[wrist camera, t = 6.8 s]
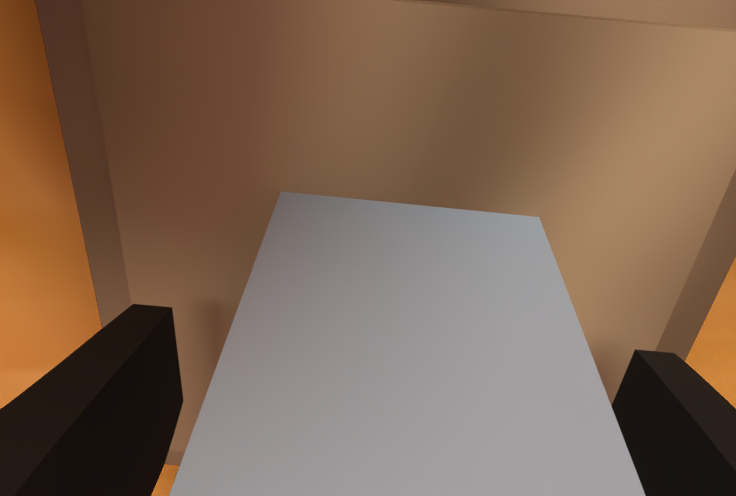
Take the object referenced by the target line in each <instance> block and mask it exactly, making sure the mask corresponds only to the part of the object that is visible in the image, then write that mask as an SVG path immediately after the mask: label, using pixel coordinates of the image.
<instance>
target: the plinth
mask: <svg viewBox="0 0 736 496" xmlns="http://www.w3.org/2000/svg"><path fill="white" fill-rule="evenodd" d="M35 2H36V7H37V12H38V17H39V22H40V27H41V31H42V36H43V41H44V46H45V51H46V56H47V61H48V66H49V70H50V75H51V80H52V85H53V90H54V95H55V100H56V105H57V110H58V114H59V119H60V124H61V129H62V134H63V139H64V144H65V149H66V153H67V158H68V163H69V168H70V173H71V178H72V183H73V188H74V192H75V197H76V202H77V207H78V212H79V217H80V222H81V227H82V231H83V236H84V241H85V246H86V251H87V256H88V261H89V266H90V270H91V275H92V280H93V285H94V290H95V295H96V300H97V305H98V310H99V314H100V319H101V324H102V328H104V327H105V326H106V325H107V324H108V323H110V322H111V321H112V320H113V319H115V318H116V317H117V316H118V315H120V314H121V313H122V312H123V311H125V310H126V309H127V308H128V307H130V306H131V305H132V304H142V305H153V306H164V307H172V310H173V318H174V326H175V335H176V343H177V351H178V359H179V368H180V376H181V384H182V392H183V400H184V401H183V404H182V408H181V411H180V415H179V418H178V422H177V425H176V429H175V432H174V436H173V439H172V442H171V445H170V449H169V452H168V455H167V458H166V461H165V464H169V465H180V464H181V462H182V459H183V456H184V453H185V451H186V448H187V445H188V443H189V440H190V437H191V434H192V432H193V429H194V426H195V424H196V421H197V418H198V415H199V413H200V410H201V407H202V404H203V402H204V399H205V396H206V394H207V391H208V388H209V385H210V383H211V380H212V377H213V374H214V372H215V369H216V366H217V364H218V361H219V358H220V355H221V353H222V350H223V347H224V345H225V342H226V339H227V336H228V334H229V331H230V328H231V325H232V323H233V320H234V317H235V315H236V312H237V309H238V306H239V304H240V301H241V298H242V295H243V293H244V290H245V287H246V285H247V282H248V279H249V276H250V274H251V271H252V268H253V266H254V263H255V260H256V257H257V255H258V252H259V249H260V246H261V244H262V241H263V238H264V236H265V233H266V230H267V227H268V225H269V222H270V219H271V216H272V214H273V211H274V208H275V206H276V203H277V200H278V197H279V195H280V192H281V191H282V192H292V193H302V194H312V195H322V196H332V197H342V198H352V199H362V200H372V201H382V202H392V203H403V204H413V205H423V206H433V207H443V208H453V209H463V210H473V211H483V212H493V213H503V214H513V215H523V216H533V217H539V218H540V221H541V223H542V226H543V229H544V231H545V234H546V236H547V239H548V242H549V244H550V247H551V250H552V252H553V255H554V257H555V260H556V263H557V265H558V268H559V270H560V273H561V276H562V278H563V281H564V284H565V286H566V289H567V291H568V294H569V297H570V299H571V302H572V304H573V307H574V310H575V312H576V315H577V318H578V320H579V323H580V325H581V328H582V331H583V333H584V336H585V338H586V341H587V344H588V346H589V349H590V352H591V354H592V357H593V359H594V362H595V365H596V367H597V370H598V373H599V375H600V378H601V380H602V383H603V386H604V388H605V391H606V393H607V396H608V399H609V401H610V404H611V406H612V403H613V401H614V398H615V396H616V394H617V391H618V389H619V386H620V384H621V382H622V379H623V377H624V375H625V372H626V370H627V367H628V365H629V363H630V360H631V358H632V355H633V353H634V351H635V349H636V350H647V351H658V352H669V353H675V354H676V355H677V356H678V357H680V358H681V359H682V360H683V361H684V362H685V360H686V358H687V356H688V354H689V351H690V349H691V347H692V345H693V343H694V341H695V339H696V337H697V335H698V333H699V331H700V329H701V327H702V325H703V322H704V320H705V318H706V316H707V314H708V312H709V310H710V308H711V306H712V304H713V302H714V300H715V298H716V296H717V294H718V291H719V289H720V287H721V285H722V283H723V281H724V279H725V277H726V275H727V273H728V271H729V269H730V267H731V265H732V263H733V260H734V258H735V256H736V0H35Z"/></svg>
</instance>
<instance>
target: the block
mask: <svg viewBox="0 0 736 496" xmlns="http://www.w3.org/2000/svg"><path fill="white" fill-rule="evenodd" d="M169 496H646V495H645V493H644V490H643V488H642V485H641V482H640V480H639V477H638V475H637V472H636V469H635V467H634V464H633V461H632V459H631V456H630V454H629V451H628V448H627V446H626V443H625V441H624V438H623V435H622V433H621V430H620V427H619V425H618V422H617V420H616V417H615V414H614V412H613V409H612V407H611V404H610V401H609V399H608V396H607V393H606V391H605V388H604V386H603V383H602V380H601V378H600V375H599V373H598V370H597V367H596V365H595V362H594V359H593V357H592V354H591V352H590V349H589V346H588V344H587V341H586V338H585V336H584V333H583V331H582V328H581V325H580V323H579V320H578V318H577V315H576V312H575V310H574V307H573V304H572V302H571V299H570V297H569V294H568V291H567V289H566V286H565V284H564V281H563V278H562V276H561V273H560V270H559V268H558V265H557V263H556V260H555V257H554V255H553V252H552V250H551V247H550V244H549V242H548V239H547V236H546V234H545V231H544V229H543V226H542V223H541V221H540V218H539V217H533V216H523V215H513V214H503V213H493V212H483V211H473V210H463V209H453V208H443V207H433V206H423V205H413V204H403V203H392V202H382V201H372V200H362V199H352V198H342V197H332V196H322V195H312V194H302V193H292V192H282V191H281V192H280V195H279V197H278V200H277V203H276V206H275V208H274V211H273V214H272V216H271V219H270V222H269V225H268V227H267V230H266V233H265V236H264V238H263V241H262V244H261V246H260V249H259V252H258V255H257V257H256V260H255V263H254V266H253V268H252V271H251V274H250V276H249V279H248V282H247V285H246V287H245V290H244V293H243V295H242V298H241V301H240V304H239V306H238V309H237V312H236V315H235V317H234V320H233V323H232V325H231V328H230V331H229V334H228V336H227V339H226V342H225V345H224V347H223V350H222V353H221V355H220V358H219V361H218V364H217V366H216V369H215V372H214V374H213V377H212V380H211V383H210V385H209V388H208V391H207V394H206V396H205V399H204V402H203V404H202V407H201V410H200V413H199V415H198V418H197V421H196V424H195V426H194V429H193V432H192V434H191V437H190V440H189V443H188V445H187V448H186V451H185V453H184V456H183V459H182V462H181V464H180V467H179V470H178V473H177V475H176V478H175V481H174V483H173V486H172V489H171V492H170V494H169Z"/></svg>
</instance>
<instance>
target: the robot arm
mask: <svg viewBox="0 0 736 496" xmlns="http://www.w3.org/2000/svg"><path fill="white" fill-rule="evenodd" d="M183 401H184V400H183V392H182V384H181V376H180V368H179V359H178V351H177V343H176V335H175V326H174V318H173V310H172V307H164V306H153V305H142V304H132V305H131V306H130V307H128V308H127V309H126V310H125V311H123V312H122V313H121V314H120V315H118V316H117V317H116V318H115V319H113V320H112V321H111V322H110V323H108V324H107V325H106V326H105V327H104V328H102V329H101V330H100V331H99V332H97V333H96V334H95V335H94V336H93V337H91V338H90V339H89V340H88V341H86V342H85V343H84V344H83V345H82V346H80V347H79V348H78V349H77V350H75V351H74V352H73V353H72V354H71V355H69V356H68V357H67V358H66V359H64V360H63V361H62V362H61V363H59V364H58V365H57V366H56V367H54V368H53V369H52V370H51V371H49V372H48V373H47V374H46V375H44V376H43V377H42V378H40V379H39V380H38V381H37V382H35V383H34V384H33V385H32V386H30V387H29V388H28V389H26V390H25V391H24V392H23V393H21V394H20V395H19V396H18V397H16V398H15V399H14V400H12V401H11V402H10V403H8V404H7V405H6V406H4V407H3V408H1V409H0V496H151V494H152V492H153V490H154V487H155V485H156V483H157V480H158V478H159V476H160V473H161V471H162V468H163V466H164V464H165V461H166V458H167V455H168V452H169V449H170V445H171V442H172V439H173V436H174V432H175V429H176V425H177V422H178V418H179V415H180V411H181V408H182V404H183ZM611 407H612V409H613V412H614V414H615V417H616V420H617V422H618V425H619V427H620V430H621V433H622V435H623V438H624V441H625V443H626V446H627V448H628V451H629V454H630V456H631V459H632V461H633V464H634V467H635V469H636V472H637V475H638V477H639V480H640V482H641V485H642V488H643V490H644V493H645V495H646V496H736V409H735V408H734V407H733V406H732V405H731V404H730V403H729V402H728V401H727V400H726V399H725V398H724V397H723V396H722V395H720V394H719V393H718V392H717V391H716V390H715V389H714V388H713V387H712V386H711V385H710V384H709V383H708V382H706V381H705V380H704V379H703V378H702V377H701V376H700V375H699V374H698V373H697V372H696V371H694V370H693V369H692V368H691V367H690V366H689V365H688V364H687V363H685V362H684V361H683V360H682V359H681V358H680V357H678V356H677V355H676V354H675V353H669V352H658V351H647V350H636V349H635V351H634V353H633V355H632V358H631V360H630V363H629V365H628V367H627V370H626V372H625V375H624V377H623V379H622V382H621V384H620V386H619V389H618V391H617V394H616V396H615V398H614V401H613V403H612V406H611Z"/></svg>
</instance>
